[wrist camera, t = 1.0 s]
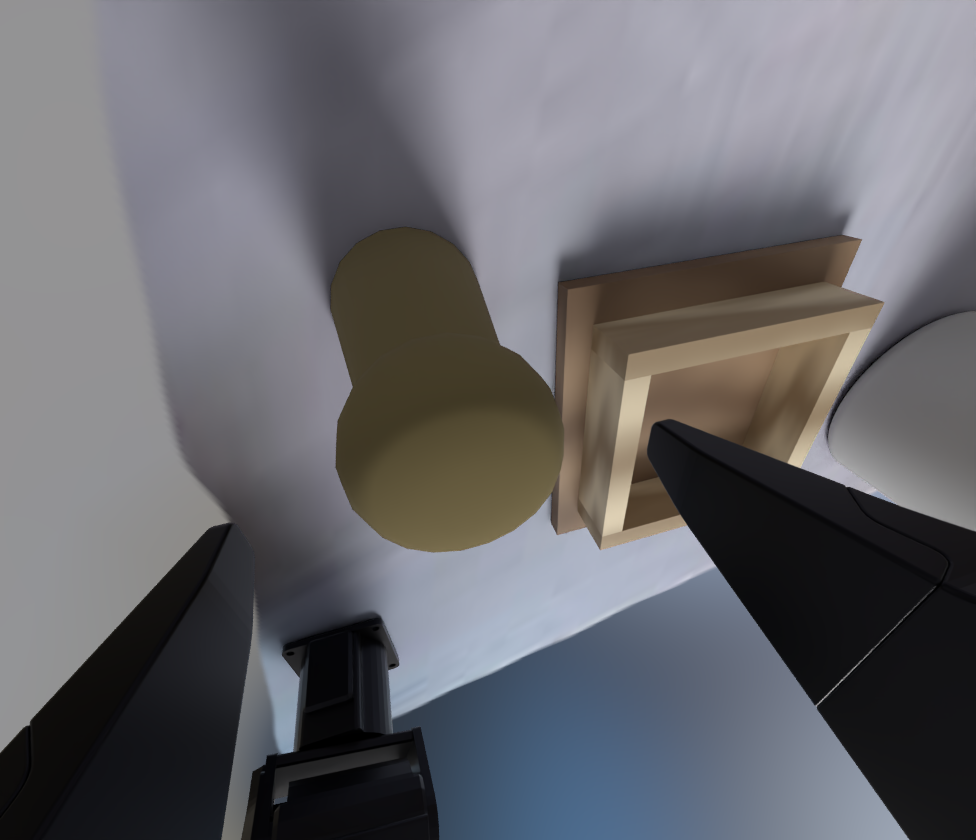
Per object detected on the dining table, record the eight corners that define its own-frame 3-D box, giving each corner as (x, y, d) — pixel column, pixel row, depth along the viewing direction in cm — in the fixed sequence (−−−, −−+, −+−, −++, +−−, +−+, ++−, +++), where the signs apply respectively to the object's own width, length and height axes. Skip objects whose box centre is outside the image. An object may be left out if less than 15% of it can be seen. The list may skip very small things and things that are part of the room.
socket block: (746, 470, 30) (792, 511, 27) (551, 523, 28) (577, 574, 25) (842, 234, 21) (930, 255, 18) (558, 282, 18) (601, 316, 15)
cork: (299, 257, 15) (231, 444, 6) (458, 204, 15) (595, 314, 7) (368, 391, 19) (385, 623, 10) (495, 345, 19) (614, 532, 10)
